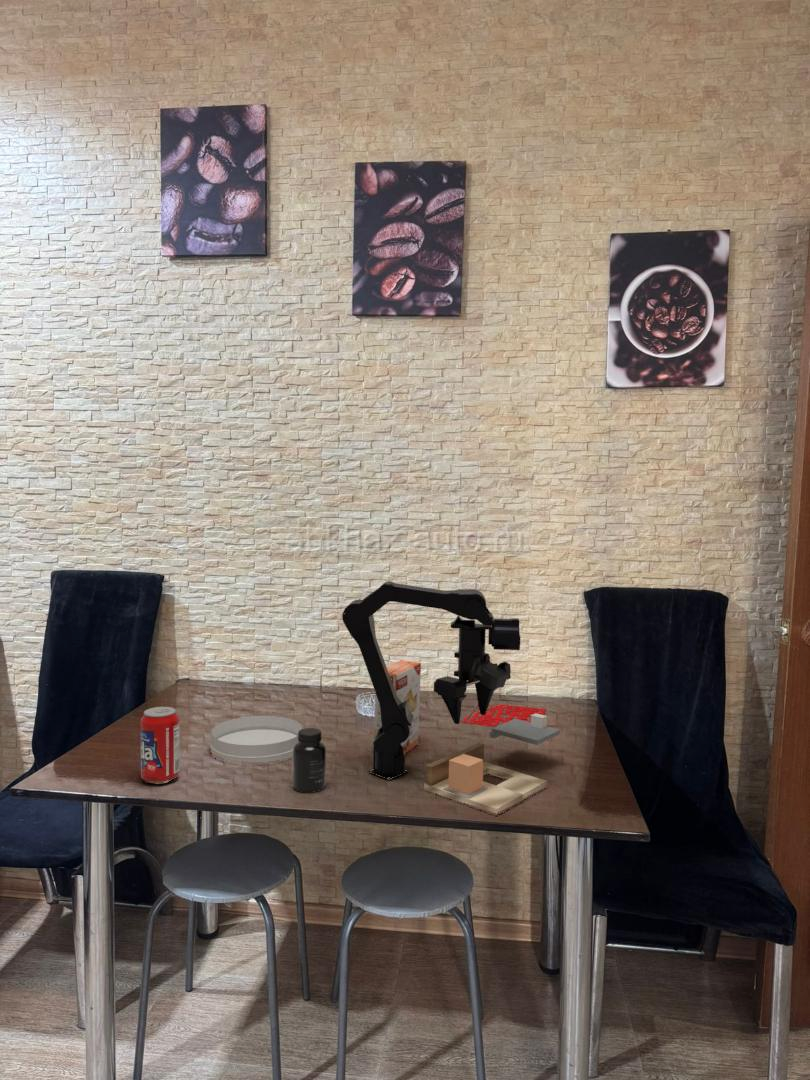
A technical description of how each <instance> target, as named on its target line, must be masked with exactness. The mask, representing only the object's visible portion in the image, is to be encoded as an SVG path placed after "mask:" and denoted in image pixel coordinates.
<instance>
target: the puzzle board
mask: <svg viewBox="0 0 810 1080" xmlns="http://www.w3.org/2000/svg"><path fill="white" fill-rule="evenodd" d="M462 754H466V755H469V756H472V757H476V758H479V759H482V760H483V774H485V773H491V774H495V775H497V776H501V777H504V778H507V779H508V780H503V781H502V782H500V783H498V784H497V785H496V784H492V783H490V782H486V781H483V788H482V789H480V790H478V791H476V792H474V793H472V794H470V795H465V794H462V793H459V792H457V791H454V790H451V789H448V787H449V760H451V759H453V758H455V757H457V756H460V755H462ZM484 755H485V744H484V743H482V742H478V743H475V744H473V745H471V746H468V747H465V748H463V749H461V750H459V751H456V752H454V753H452V754H449V755H447V756H445V757H444V756H443V758H440V759H438V760H435V761H433V762H431V763H429V764H427V765H425V782H424V784H423V785H424V788H423V789H426V790H429V791H431V792H434V793H437V794H439V795H442V796H445V797H448V798H450V799H453V800H456V801H459V802H462V803H466V804H469V805H473V806H476V807H479V808H482V809H485V810H487V811H490V812H493V813H496V814H497V813H498V812H500V811H502V810H504V809H505V808H507V807H509V806H511V805H513V804H514V803H516V802H518V801H519V800H521V799H523V798H525V797H527V796H528V795H530V794H532V793H533V792H535V791H537V790H539V789H540V788H542V787H544V786H546V785H548V783H547V782H548V781H547V780H545V779H541V778H539V777H535V776H532V775H529V774H526V773H522V772H519V771H516V770H512V769H510V768H507V767H503V766H499V765H495V764H493V763H489V762H487V761H485V760H484V759H485V756H484Z"/></svg>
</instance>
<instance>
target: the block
mask: <svg viewBox="0 0 810 1080" xmlns="http://www.w3.org/2000/svg"><path fill="white" fill-rule="evenodd" d="M483 780H484V776H483V760H482V759H479V758H476V757H472V756H469V755H466V754H462V755H460V756H457V757H455V758H453V759H451V760H449V787H448V789H451V790H454V791H457V792H459V793H462V794H465V795H470V794H472V793H474V792H476V791H478V790H480V789H482V788H483Z"/></svg>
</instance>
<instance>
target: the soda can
mask: <svg viewBox="0 0 810 1080" xmlns="http://www.w3.org/2000/svg"><path fill="white" fill-rule="evenodd" d="M177 713H178V712H177V710H176V708H174V707H171V706H156V707H151V708H148V709H145V710H144V711H143V716H142V717H141V718H140V779H141V778H142V779H144V780H147V781H166V780H171V779H173V778H175V777H177V776H178V775H179V776H180V771H181V770H180V765H181V764H180V761H181V760H180V753H181V752H180V751H181V750H180V716H179V715H178V714H177ZM179 776H178V777H179ZM178 777H177V778H178ZM142 779H141V780H142Z"/></svg>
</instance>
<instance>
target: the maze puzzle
mask: <svg viewBox="0 0 810 1080" xmlns="http://www.w3.org/2000/svg"><path fill="white" fill-rule="evenodd" d="M496 704H497V705H501V706H496V707H494V705H493V707H494V708H493V707H491V708H489V709H491V710H487V711H490V712H489V713H488V712H486V713H487V714H485V715H481V714H479V713H480V712H479V711H476V712H478V713H476V712H475V713H476V714H475V713H474V714H473V713H471V714H472V715H473V716H472V715H471V714H470V715H471V716H472V717H471V718H470V717H466V716H465V717H466V718H467V719H469V718H470V719H469V721H468V720H467V719H465V717H463V719H464V721H461V722H466V723H465V724H467V723H470V724H469V725H476V724H477V726H484V725H485V726H487V727H492V728H494V727H497V726H499V724H500V722H501V721H502V722H501V724H504V723H506V722H509V721H511V720H513V719H514V717H516V718H515V719H519V720H523V721H527V722H530V723H531V715H533V714H535V713H536V714H540V715H545V713H546V711H547V709H544V708H536V707H527V706H519V705H509V704H499V703H496ZM503 706H507V707H503ZM512 707H514V708H512ZM492 708H493V709H492ZM504 708H506V709H504ZM521 708H523V709H521ZM512 709H515V710H512ZM531 709H532V710H531ZM494 710H498V711H497V713H496V711H494ZM540 710H541V712H539V711H540ZM502 711H503V712H502ZM504 711H505V712H504ZM512 711H513V712H512ZM510 712H512V713H510ZM495 713H496V714H495ZM520 713H522V714H520ZM478 714H479V715H478ZM466 715H467V714H466ZM492 715H493V716H494V715H495V716H494V717H493V716H492ZM501 715H504V716H505V718H503V716H501ZM467 716H468V715H467ZM483 716H485V717H483ZM508 716H509V717H508ZM476 717H478V718H476ZM475 718H476V719H475ZM482 718H484V719H482ZM528 718H530V719H529V720H528ZM466 720H467V721H466ZM480 720H481V721H480ZM470 721H473V722H470ZM478 722H480V723H478ZM492 723H493V724H492Z"/></svg>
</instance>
